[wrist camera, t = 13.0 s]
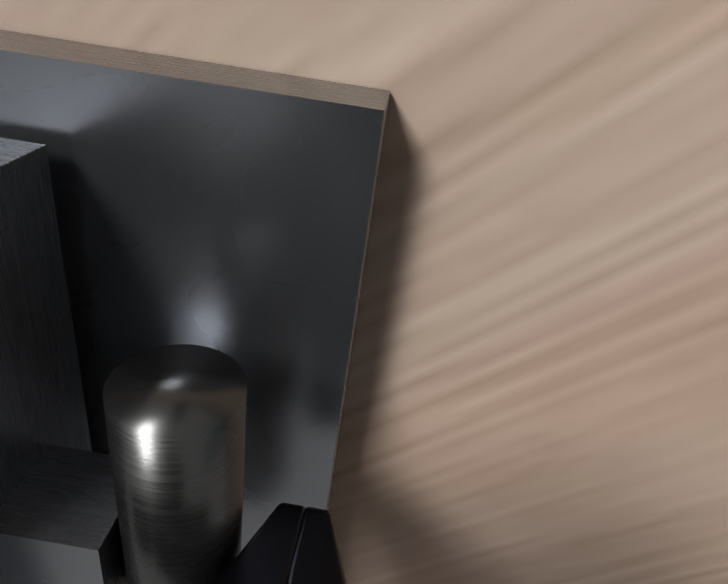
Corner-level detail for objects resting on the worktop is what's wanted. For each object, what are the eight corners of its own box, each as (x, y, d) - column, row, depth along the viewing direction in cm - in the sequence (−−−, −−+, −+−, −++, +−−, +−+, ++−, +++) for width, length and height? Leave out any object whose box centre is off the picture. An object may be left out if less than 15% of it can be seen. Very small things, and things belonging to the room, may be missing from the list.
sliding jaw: (287, 183, 7) (184, 342, 4) (258, 629, 12) (201, 847, 9) (-214, 103, 7) (-661, 201, 4) (-40, 577, 12) (-191, 775, 9)
